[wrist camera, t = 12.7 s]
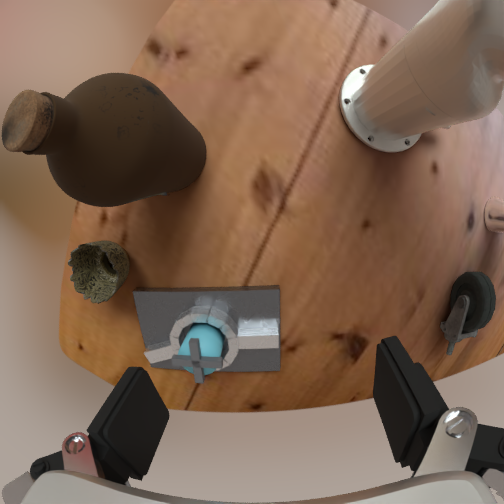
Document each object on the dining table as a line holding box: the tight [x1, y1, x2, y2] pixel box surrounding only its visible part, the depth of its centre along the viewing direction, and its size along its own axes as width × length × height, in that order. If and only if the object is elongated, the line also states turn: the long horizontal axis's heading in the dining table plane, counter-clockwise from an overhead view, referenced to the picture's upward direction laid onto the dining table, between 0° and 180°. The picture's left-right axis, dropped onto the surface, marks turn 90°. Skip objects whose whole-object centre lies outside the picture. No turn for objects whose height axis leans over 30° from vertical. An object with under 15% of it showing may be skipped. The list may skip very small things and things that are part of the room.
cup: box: [68, 241, 129, 304], centre depth 32 cm, size 8×7×8 cm
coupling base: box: [133, 285, 280, 372], centre depth 36 cm, size 20×13×4 cm, turn 93°
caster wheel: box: [440, 272, 496, 355], centre depth 31 cm, size 6×10×15 cm
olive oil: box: [2, 73, 206, 207], centre depth 20 cm, size 11×11×25 cm
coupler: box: [171, 322, 225, 383], centre depth 33 cm, size 5×5×7 cm
